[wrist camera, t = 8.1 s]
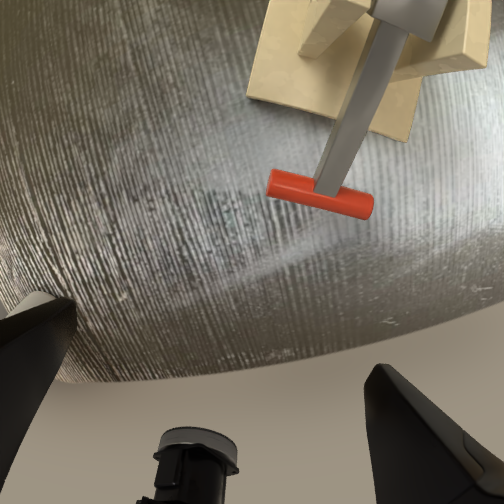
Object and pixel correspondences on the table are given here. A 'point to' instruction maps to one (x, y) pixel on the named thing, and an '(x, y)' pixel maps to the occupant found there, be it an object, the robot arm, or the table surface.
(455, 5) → the bracket
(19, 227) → the table surface
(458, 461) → the robot arm
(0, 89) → the table surface
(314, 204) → the lever
